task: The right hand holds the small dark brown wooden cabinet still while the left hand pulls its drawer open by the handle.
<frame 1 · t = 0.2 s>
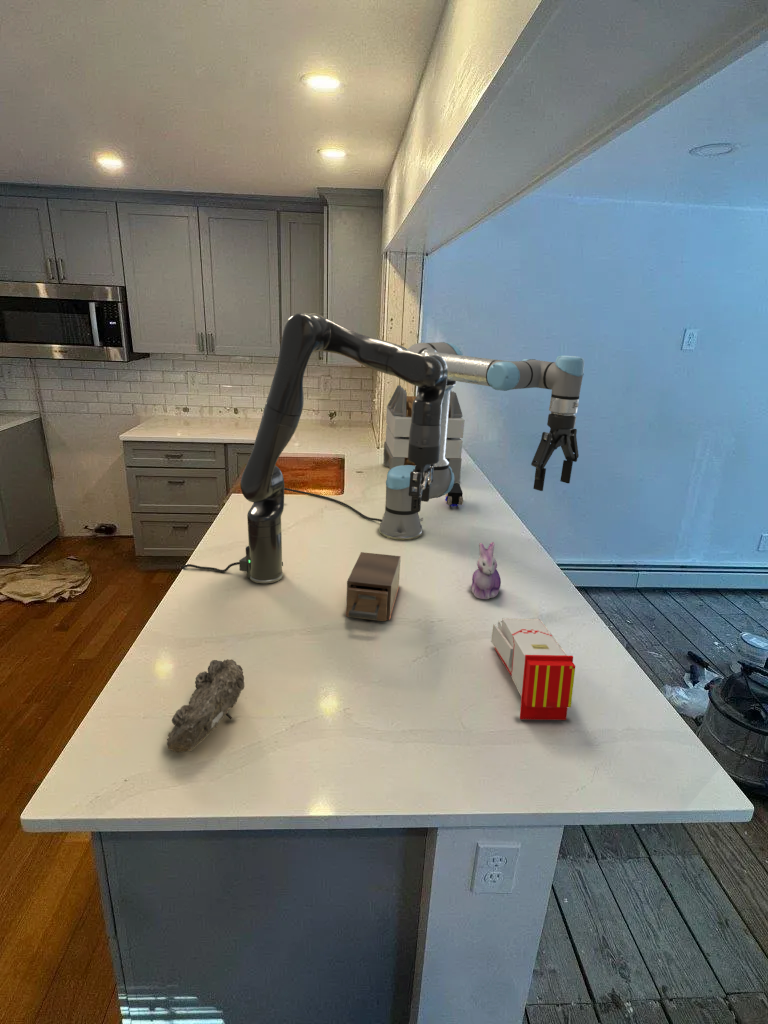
left hand: (420, 506, 140), 29 cm above the counter, tool pointing down, fingers open, 8 cm apart
right hand: (551, 486, 166), 28 cm above the counter, tool pointing down, fingers open, 13 cm apart
toy: (524, 678, 124), on the counter
figurine: (485, 592, 161), on the counter
white slatted crate: (419, 473, 275), on the counter
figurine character: (452, 505, 232), on the counter
cabinet: (373, 600, 154), on the counter
fossil: (212, 717, 108), on the counter
drawer: (370, 594, 147), point 5 cm above the counter, slide at 1.3 cm
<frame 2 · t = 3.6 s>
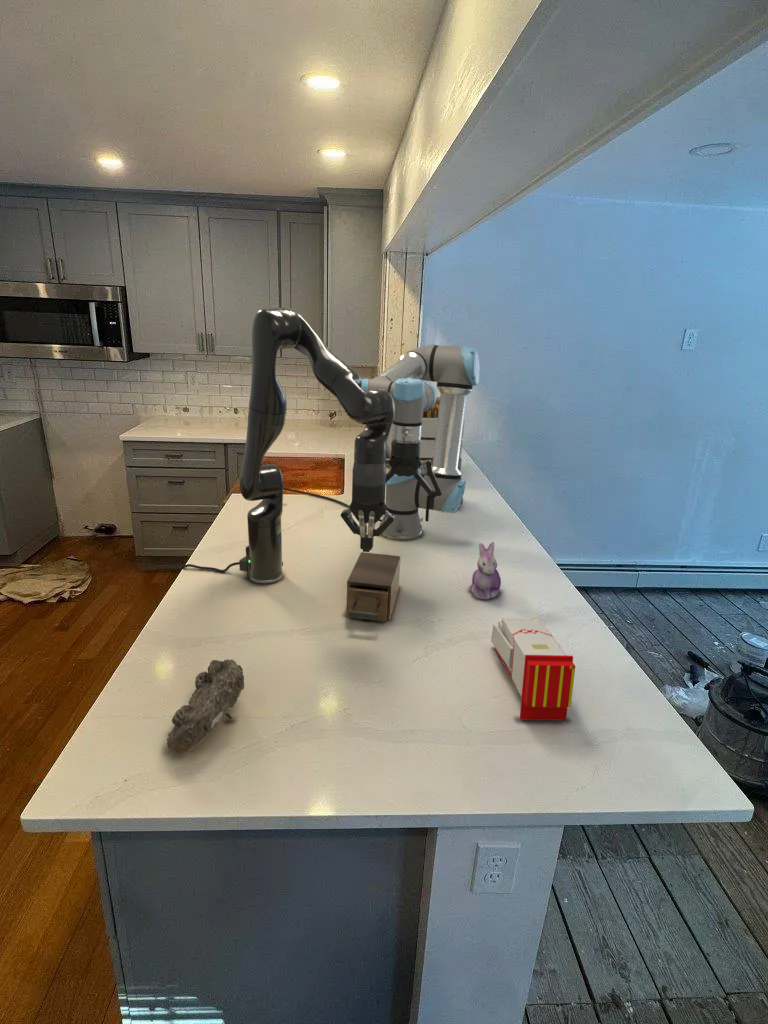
left hand: (366, 550, 133), 21 cm above the counter, tool pointing down, fingers closed
right hand: (401, 518, 153), 22 cm above the counter, tool pointing down, fingers open, 13 cm apart
nothing on the counter moved.
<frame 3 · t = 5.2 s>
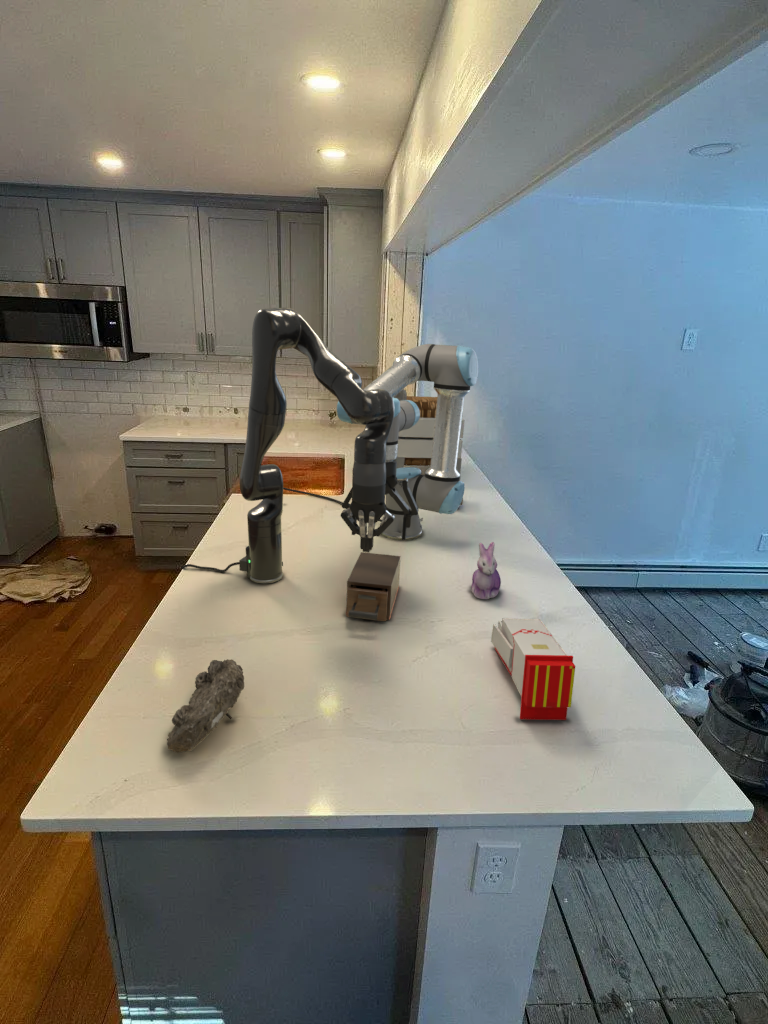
left hand: (366, 550, 133), 21 cm above the counter, tool pointing down, fingers closed
right hand: (378, 535, 152), 17 cm above the counter, tool pointing down, fingers open, 13 cm apart
nothing on the counter moved.
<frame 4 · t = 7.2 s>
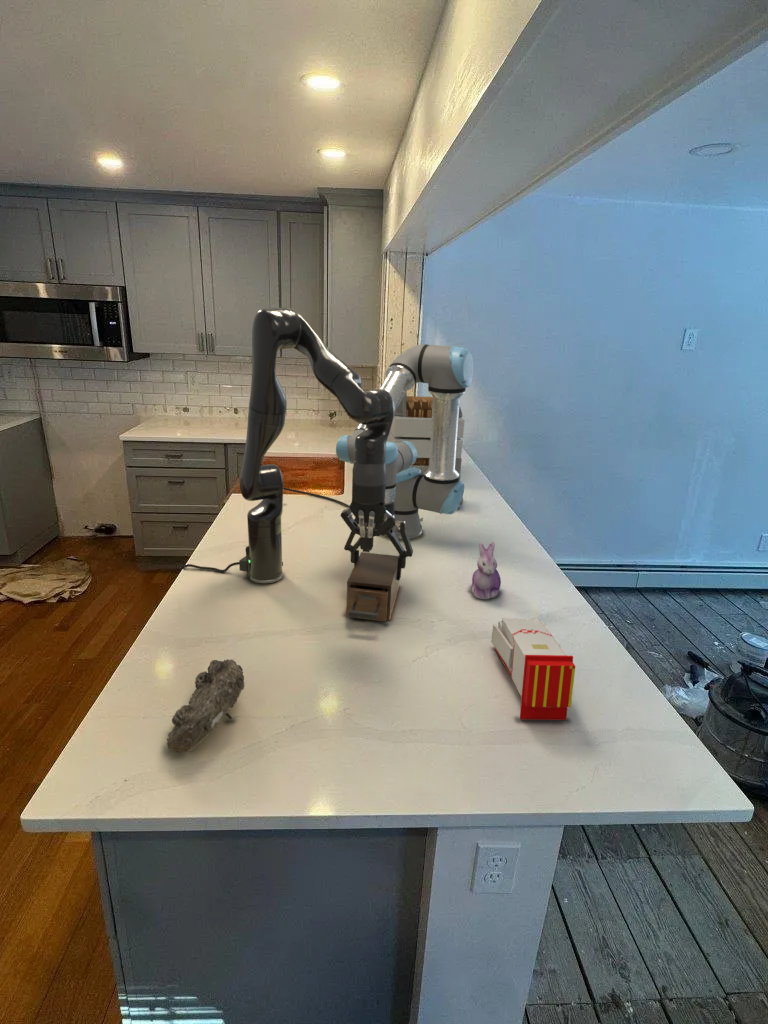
left hand: (366, 550, 133), 21 cm above the counter, tool pointing down, fingers closed
right hand: (377, 575, 156), 5 cm above the counter, tool pointing down, fingers closed on cabinet, 11 cm apart
cabinet: (373, 600, 154), on the counter, touching right hand
everything else where it was.
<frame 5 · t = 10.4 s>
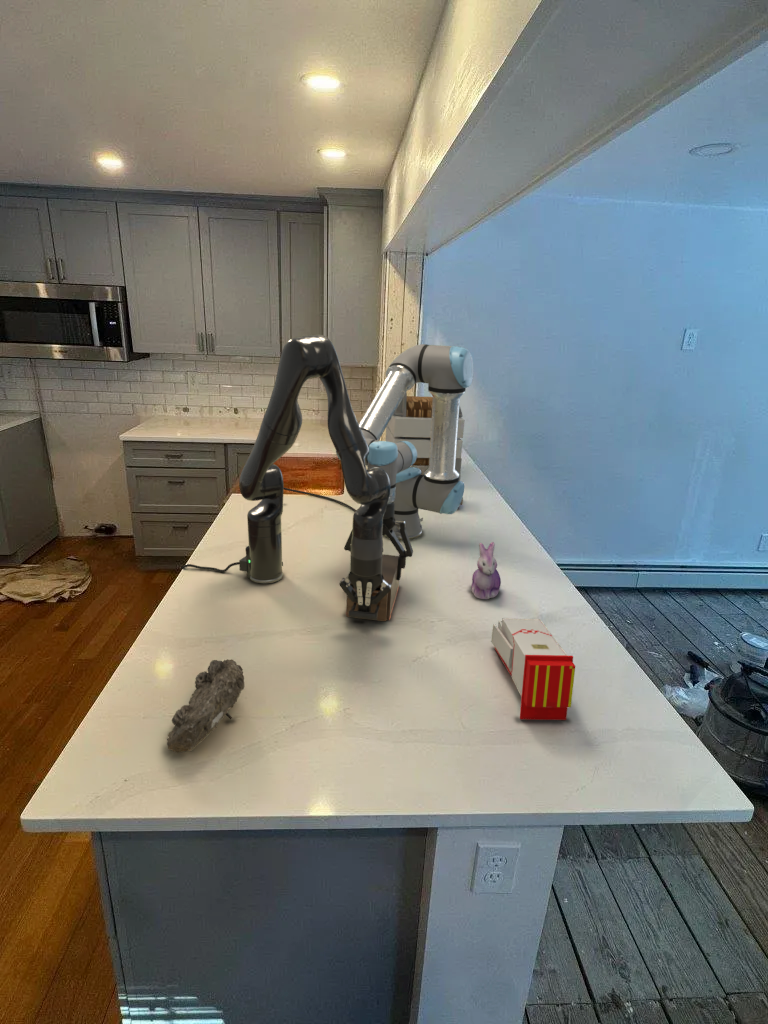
left hand: (364, 616, 139), 3 cm above the counter, tool pointing down, fingers closed
right hand: (377, 575, 156), 5 cm above the counter, tool pointing down, fingers closed on cabinet, 11 cm apart
cabinet: (373, 600, 154), on the counter, touching right hand
drawer: (370, 594, 147), point 5 cm above the counter, slide at 1.3 cm, touching left hand
everything else where it was.
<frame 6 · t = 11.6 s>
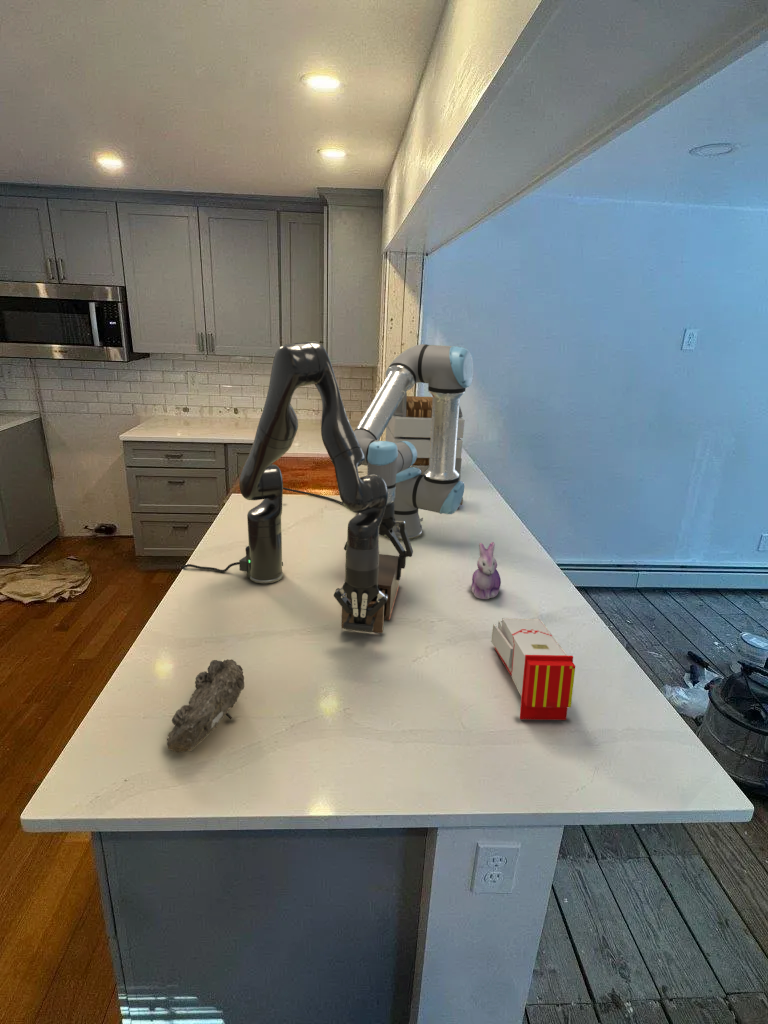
left hand: (359, 628, 134), 4 cm above the counter, tool pointing down, fingers closed
right hand: (377, 575, 156), 5 cm above the counter, tool pointing down, fingers closed on cabinet, 11 cm apart
cabinet: (373, 600, 154), on the counter, touching right hand
drawer: (366, 605, 141), point 5 cm above the counter, slide at 6.9 cm, touching left hand
everything else where it was.
when the right hand's fingers open (5 cm above the counter, at t = 13.1 s): cabinet stays where it is, on the counter.
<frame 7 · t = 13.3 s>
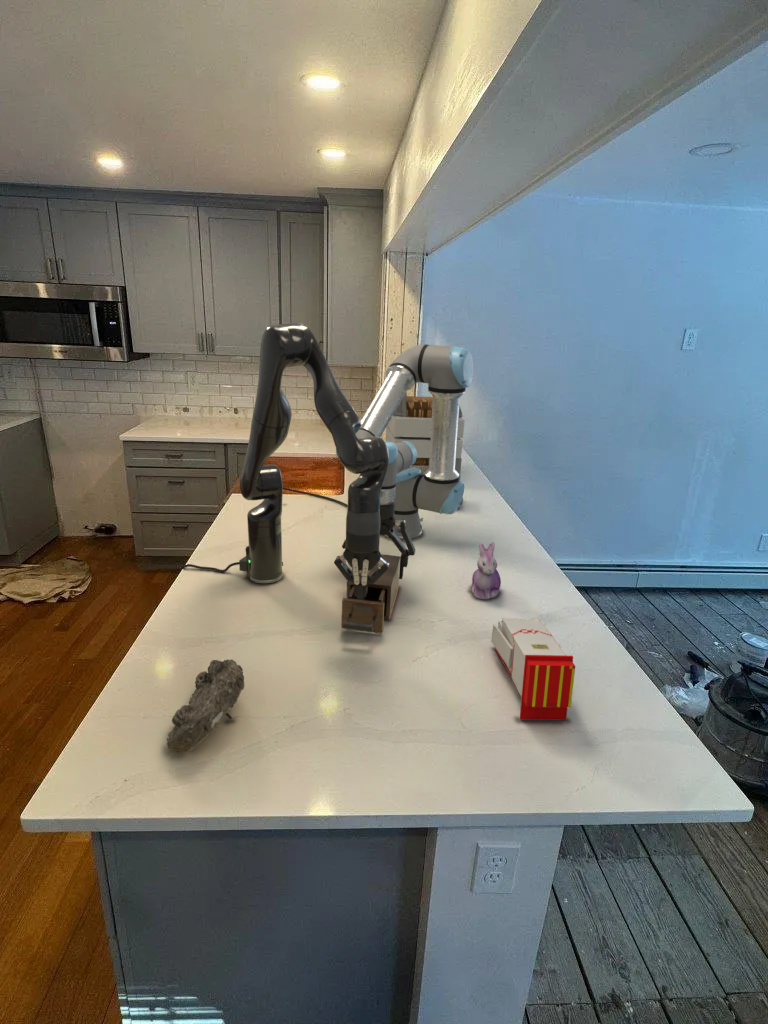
left hand: (360, 597, 131), 12 cm above the counter, tool pointing down, fingers closed
right hand: (377, 574, 156), 6 cm above the counter, tool pointing down, fingers open, 12 cm apart
cabinet: (373, 600, 154), on the counter
drawer: (366, 605, 141), point 5 cm above the counter, slide at 6.9 cm
everything else where it was.
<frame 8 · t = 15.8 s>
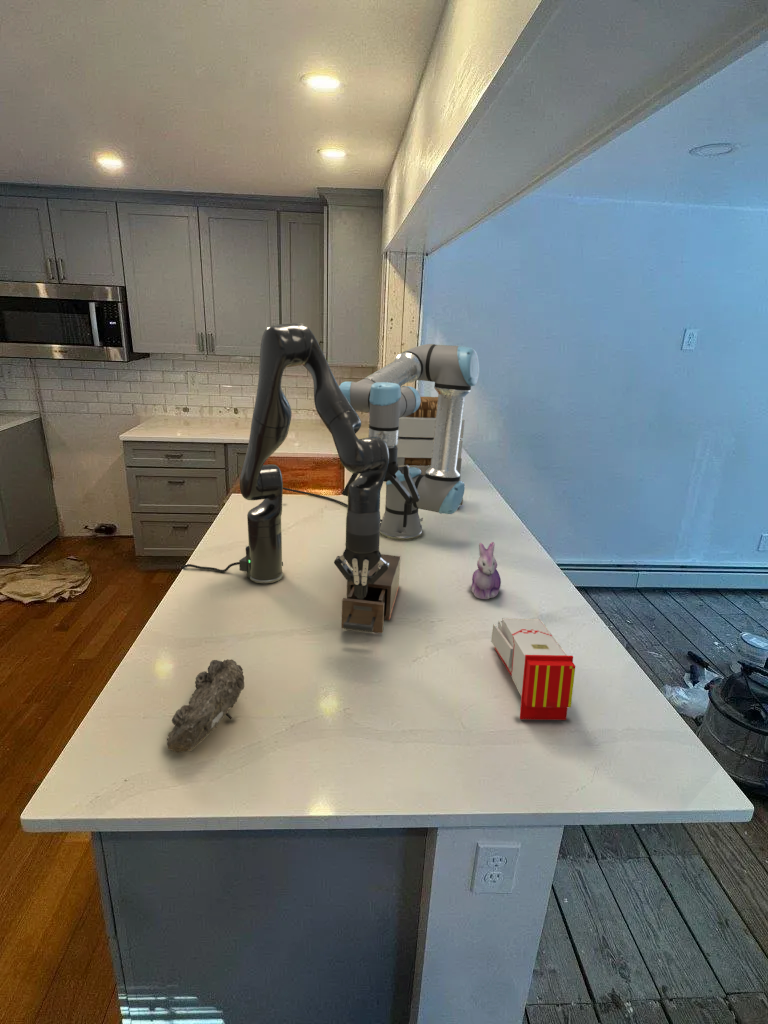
left hand: (360, 597, 131), 12 cm above the counter, tool pointing down, fingers closed
right hand: (379, 523, 151), 21 cm above the counter, tool pointing down, fingers open, 13 cm apart
nothing on the counter moved.
at the end: drawer slide at 6.9 cm; cabinet tilted 0°; cabinet never tilted more than 1° during the clip; cabinet moved 0.1 cm from its start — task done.
